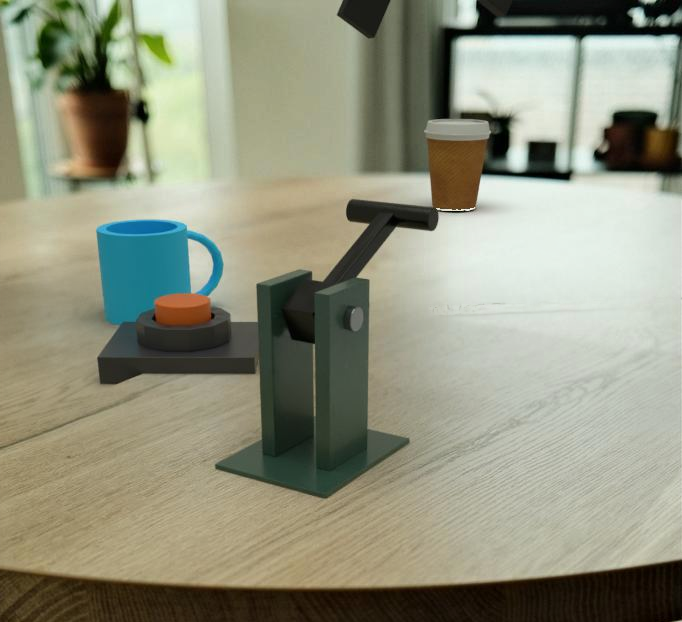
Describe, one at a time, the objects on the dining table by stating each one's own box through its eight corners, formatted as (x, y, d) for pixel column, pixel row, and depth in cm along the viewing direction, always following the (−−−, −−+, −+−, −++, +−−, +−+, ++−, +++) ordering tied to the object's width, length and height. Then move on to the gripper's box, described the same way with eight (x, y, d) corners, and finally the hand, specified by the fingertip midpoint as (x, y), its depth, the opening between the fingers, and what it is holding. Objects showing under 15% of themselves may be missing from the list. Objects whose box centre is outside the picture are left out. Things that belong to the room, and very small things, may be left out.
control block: (100, 384, 78) (94, 334, 77) (125, 346, 87) (120, 300, 86) (255, 384, 78) (253, 334, 77) (264, 346, 87) (263, 300, 86)
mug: (123, 332, 91) (114, 239, 88) (93, 311, 97) (83, 224, 94) (243, 313, 97) (239, 226, 93) (207, 295, 103) (202, 212, 100)
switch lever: (360, 219, 67) (352, 187, 66) (441, 229, 64) (435, 195, 63) (265, 335, 61) (253, 303, 59) (350, 351, 58) (340, 317, 57)
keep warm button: (151, 329, 79) (149, 307, 78) (160, 314, 83) (159, 293, 82) (208, 329, 79) (206, 307, 78) (214, 314, 83) (213, 293, 82)
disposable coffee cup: (494, 213, 146) (500, 124, 140) (429, 215, 144) (433, 125, 139) (476, 202, 154) (481, 118, 149) (415, 204, 153) (417, 119, 148)
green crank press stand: (306, 431, 70) (304, 257, 64) (409, 455, 66) (415, 273, 61) (215, 482, 62) (204, 290, 57) (325, 513, 58) (324, 310, 53)
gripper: (789, -380, 50) (603, 31, 52) (481, -227, 70) (355, 64, 72) (702, -513, 45) (502, -59, 47) (401, -309, 66) (269, 2, 68)
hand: (413, 16), depth 60 cm, fingers open, 13 cm apart
